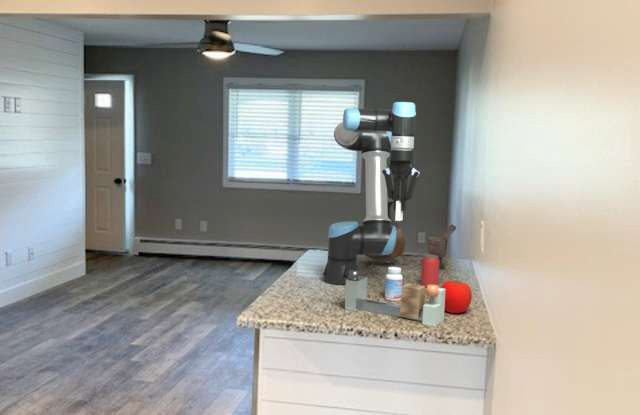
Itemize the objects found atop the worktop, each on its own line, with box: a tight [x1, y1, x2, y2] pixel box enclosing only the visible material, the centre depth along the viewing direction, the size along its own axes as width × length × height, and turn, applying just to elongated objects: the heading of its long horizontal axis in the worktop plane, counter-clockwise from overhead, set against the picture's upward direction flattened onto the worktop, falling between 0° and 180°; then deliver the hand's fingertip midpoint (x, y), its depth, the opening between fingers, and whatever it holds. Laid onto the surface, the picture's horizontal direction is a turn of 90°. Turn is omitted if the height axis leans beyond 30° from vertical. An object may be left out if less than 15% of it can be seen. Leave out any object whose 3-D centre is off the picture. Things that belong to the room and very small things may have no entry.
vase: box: [364, 197, 406, 265], centre depth 272 cm, size 23×19×30 cm
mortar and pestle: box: [427, 224, 457, 269], centre depth 270 cm, size 12×9×20 cm
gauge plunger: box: [426, 284, 440, 302], centre depth 185 cm, size 3×3×5 cm
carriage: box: [400, 283, 426, 319], centre depth 191 cm, size 6×5×10 cm
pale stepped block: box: [421, 287, 445, 327], centre depth 187 cm, size 4×9×10 cm, turn 150°
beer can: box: [420, 253, 440, 288], centre depth 234 cm, size 7×7×12 cm
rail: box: [344, 269, 423, 322], centre depth 195 cm, size 27×8×13 cm, turn 60°
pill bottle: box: [384, 266, 404, 302], centre depth 213 cm, size 6×6×11 cm
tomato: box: [440, 280, 473, 314], centre depth 199 cm, size 10×11×11 cm
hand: (398, 220), depth 201 cm, fingers closed
